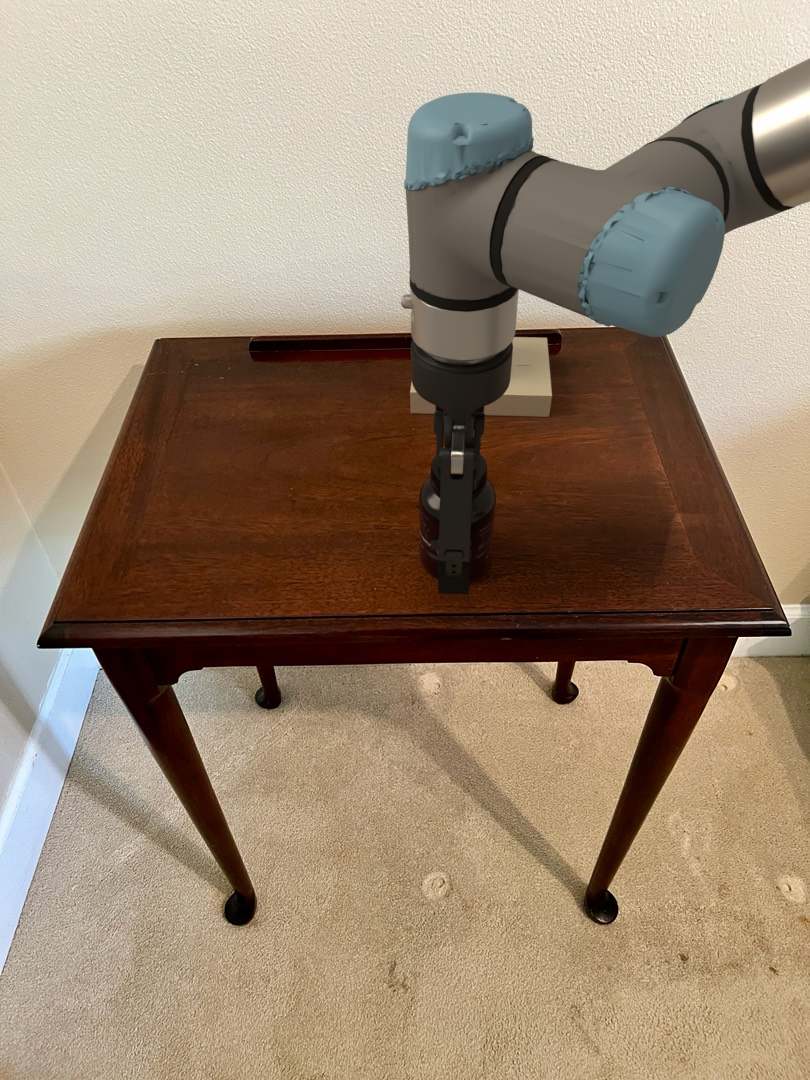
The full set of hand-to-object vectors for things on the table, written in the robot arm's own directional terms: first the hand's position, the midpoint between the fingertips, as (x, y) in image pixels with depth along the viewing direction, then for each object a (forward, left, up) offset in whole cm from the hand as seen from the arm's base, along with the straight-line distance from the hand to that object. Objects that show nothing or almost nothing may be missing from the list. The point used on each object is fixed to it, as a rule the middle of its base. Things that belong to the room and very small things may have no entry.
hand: (455, 545), depth 72 cm
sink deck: (-2, -28, -2) cm, 29 cm away
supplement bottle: (0, 0, -2) cm, 2 cm away
